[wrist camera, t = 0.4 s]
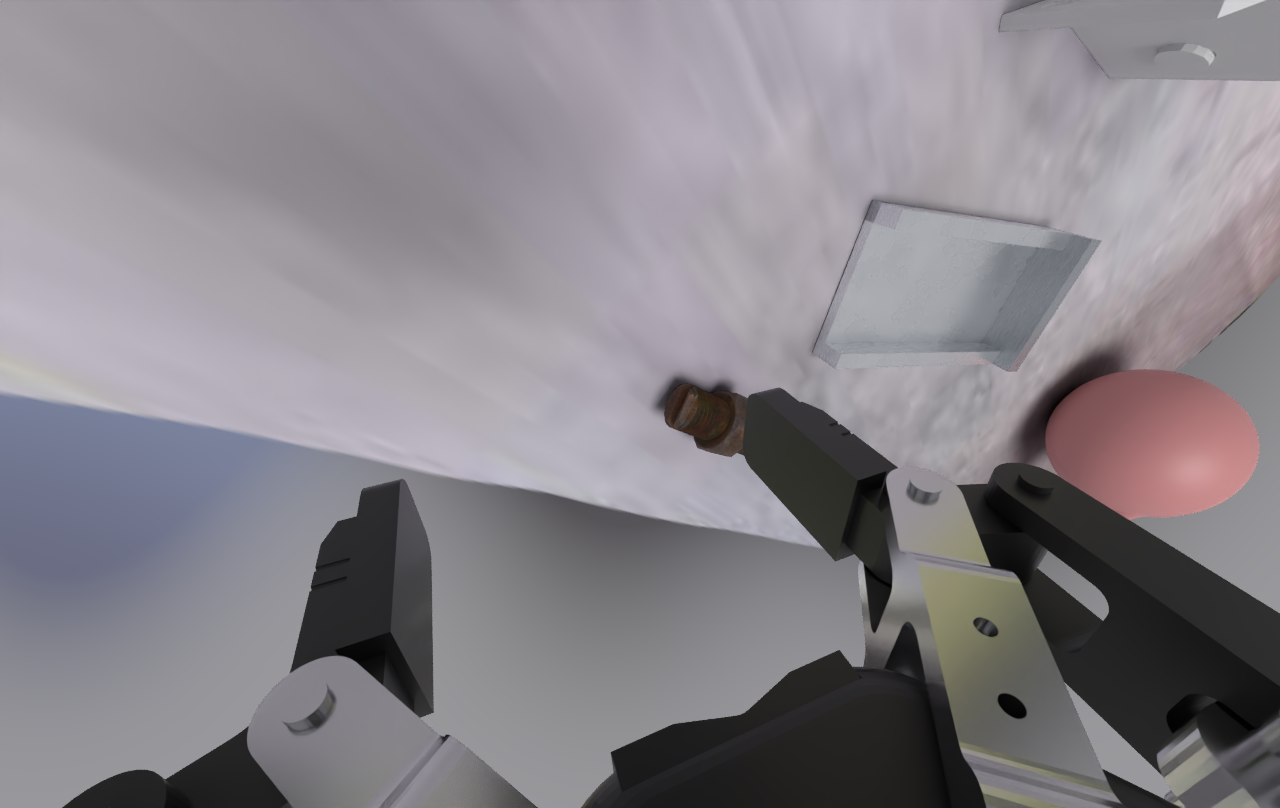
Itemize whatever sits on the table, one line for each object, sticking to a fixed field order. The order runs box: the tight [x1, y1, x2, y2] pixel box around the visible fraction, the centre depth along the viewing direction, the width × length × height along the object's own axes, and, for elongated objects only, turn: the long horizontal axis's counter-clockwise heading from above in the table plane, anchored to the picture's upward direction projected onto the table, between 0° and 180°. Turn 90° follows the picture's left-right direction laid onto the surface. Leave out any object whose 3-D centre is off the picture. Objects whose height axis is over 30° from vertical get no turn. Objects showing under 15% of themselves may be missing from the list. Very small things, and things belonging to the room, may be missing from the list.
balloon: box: [1045, 370, 1259, 520], centre depth 52 cm, size 15×20×15 cm
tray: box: [813, 200, 1101, 372], centre depth 36 cm, size 11×19×4 cm, turn 80°
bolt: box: [664, 384, 748, 457], centre depth 36 cm, size 6×5×15 cm
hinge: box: [999, 0, 1280, 81], centre depth 25 cm, size 14×5×10 cm, turn 79°
